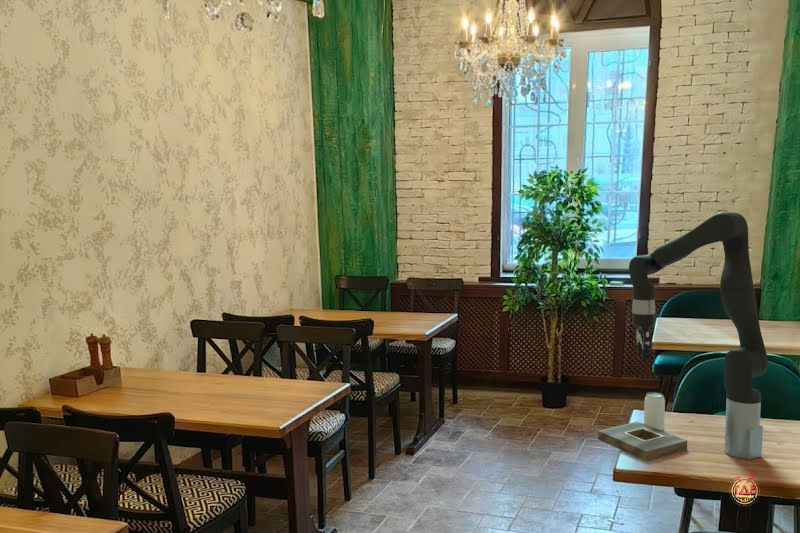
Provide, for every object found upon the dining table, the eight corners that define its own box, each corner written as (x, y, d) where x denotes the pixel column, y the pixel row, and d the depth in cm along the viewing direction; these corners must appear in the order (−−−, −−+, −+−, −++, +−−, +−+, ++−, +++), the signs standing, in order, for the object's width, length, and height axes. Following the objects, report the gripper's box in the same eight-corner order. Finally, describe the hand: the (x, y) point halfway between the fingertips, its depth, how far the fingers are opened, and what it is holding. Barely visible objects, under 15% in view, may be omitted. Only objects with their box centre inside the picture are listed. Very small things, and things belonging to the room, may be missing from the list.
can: (666, 432, 211) (666, 398, 210) (645, 431, 213) (646, 397, 211) (662, 426, 218) (662, 392, 216) (642, 424, 219) (643, 391, 218)
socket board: (687, 449, 196) (687, 439, 196) (646, 461, 188) (646, 450, 188) (636, 429, 214) (637, 420, 214) (597, 439, 206) (597, 430, 206)
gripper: (659, 315, 211) (659, 362, 213) (650, 309, 225) (650, 353, 227) (636, 315, 213) (636, 361, 214) (628, 309, 227) (628, 352, 228)
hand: (643, 357), depth 220 cm, fingers open, 8 cm apart
